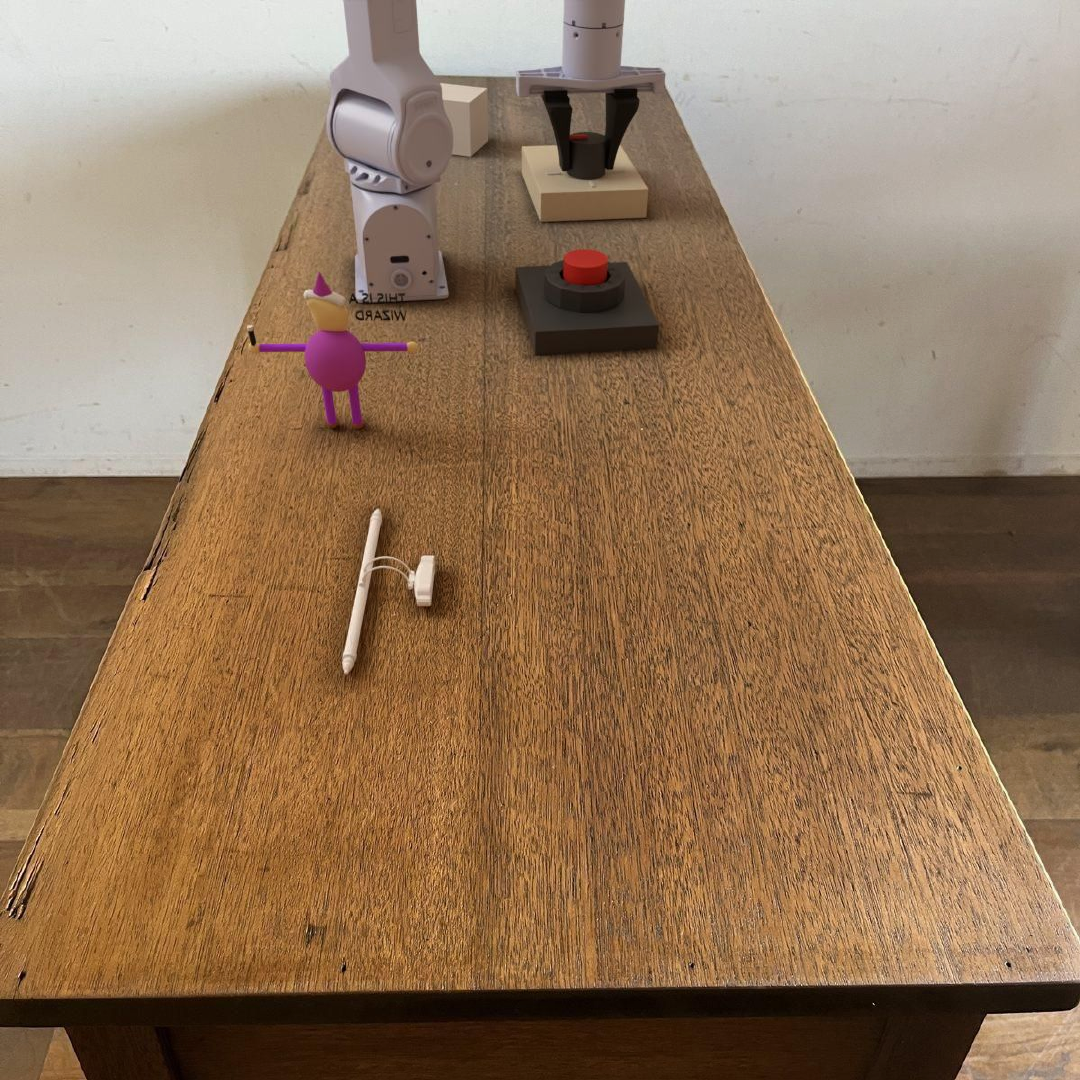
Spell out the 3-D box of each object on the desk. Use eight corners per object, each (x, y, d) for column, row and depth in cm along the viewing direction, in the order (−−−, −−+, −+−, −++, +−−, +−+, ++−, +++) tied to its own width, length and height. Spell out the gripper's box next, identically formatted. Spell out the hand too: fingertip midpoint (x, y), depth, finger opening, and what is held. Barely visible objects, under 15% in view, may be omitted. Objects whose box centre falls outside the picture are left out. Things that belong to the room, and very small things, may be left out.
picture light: (373, 513, 62) (370, 487, 61) (441, 514, 63) (440, 488, 61) (339, 678, 52) (335, 650, 50) (422, 679, 52) (420, 651, 50)
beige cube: (470, 157, 114) (469, 102, 110) (422, 150, 115) (419, 96, 111) (488, 140, 118) (487, 87, 114) (442, 135, 120) (439, 82, 116)
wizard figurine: (424, 418, 71) (414, 261, 63) (422, 443, 69) (411, 283, 61) (267, 419, 71) (238, 261, 63) (259, 444, 68) (227, 282, 61)
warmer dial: (601, 165, 104) (603, 128, 101) (608, 178, 101) (611, 140, 98) (563, 166, 103) (564, 129, 101) (570, 180, 100) (571, 141, 98)
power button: (610, 286, 80) (612, 266, 79) (567, 288, 80) (567, 268, 79) (601, 267, 83) (603, 247, 82) (559, 269, 82) (560, 249, 81)
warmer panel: (646, 217, 101) (648, 187, 99) (540, 222, 99) (540, 191, 97) (617, 170, 111) (619, 141, 109) (521, 173, 110) (521, 144, 108)
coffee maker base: (656, 349, 80) (661, 304, 77) (534, 356, 78) (535, 310, 76) (625, 284, 89) (628, 241, 86) (515, 290, 87) (515, 247, 85)
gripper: (657, 11, 97) (645, 151, 106) (511, 13, 95) (511, 156, 104) (676, 28, 91) (661, 175, 100) (521, 30, 90) (520, 180, 98)
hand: (586, 167), depth 102 cm, fingers closed on warmer dial, 4 cm apart
